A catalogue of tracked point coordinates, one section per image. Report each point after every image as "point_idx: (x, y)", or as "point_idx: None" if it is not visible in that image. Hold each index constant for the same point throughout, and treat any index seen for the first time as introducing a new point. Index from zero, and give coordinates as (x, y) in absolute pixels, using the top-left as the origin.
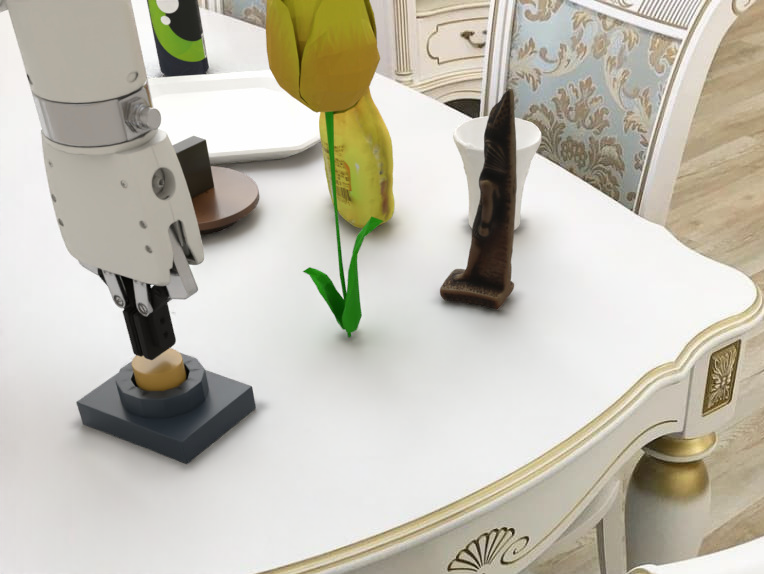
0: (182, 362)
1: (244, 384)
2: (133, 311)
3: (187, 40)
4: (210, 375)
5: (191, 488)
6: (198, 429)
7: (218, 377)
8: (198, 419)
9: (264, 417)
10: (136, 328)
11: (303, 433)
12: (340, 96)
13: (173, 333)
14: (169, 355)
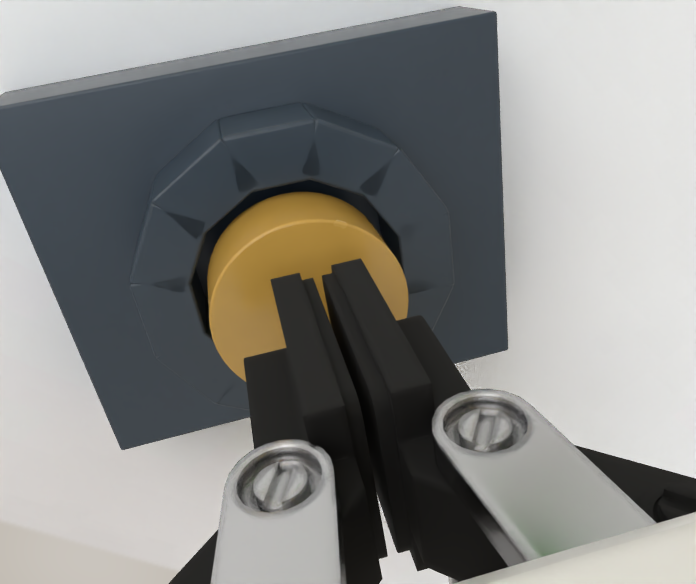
0: (387, 246)
1: (469, 25)
2: (382, 550)
3: None
4: (321, 68)
5: (543, 352)
6: (505, 287)
7: (356, 57)
8: (476, 262)
9: (512, 25)
10: (379, 498)
11: (658, 6)
12: None
13: (368, 276)
14: (323, 263)
